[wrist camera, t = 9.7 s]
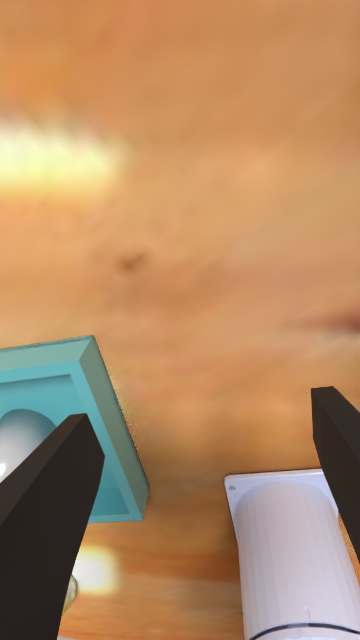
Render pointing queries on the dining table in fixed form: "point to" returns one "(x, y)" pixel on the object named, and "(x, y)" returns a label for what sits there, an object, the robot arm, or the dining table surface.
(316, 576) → the robot arm
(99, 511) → the tray
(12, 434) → the white cylinder
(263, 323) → the dining table surface
